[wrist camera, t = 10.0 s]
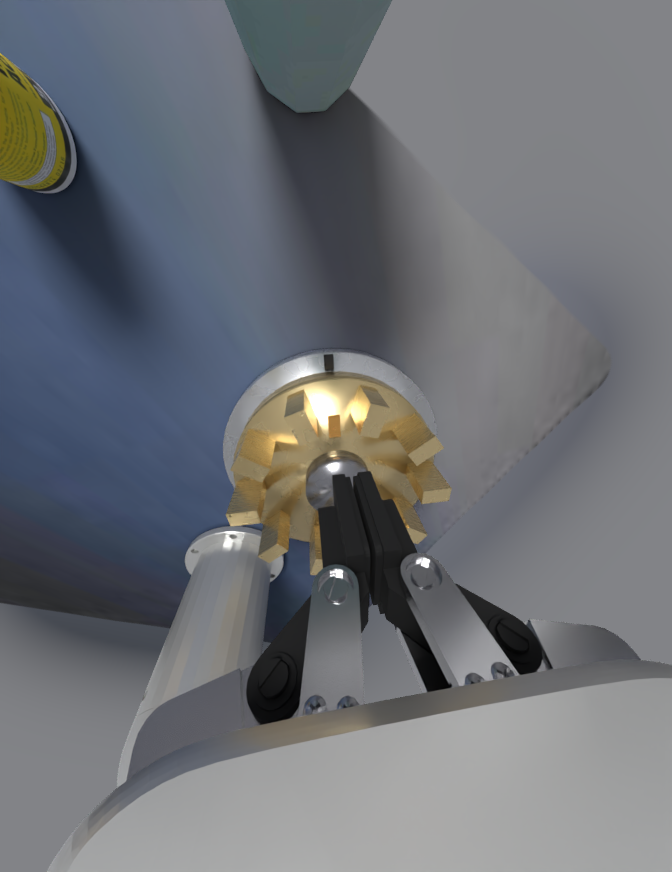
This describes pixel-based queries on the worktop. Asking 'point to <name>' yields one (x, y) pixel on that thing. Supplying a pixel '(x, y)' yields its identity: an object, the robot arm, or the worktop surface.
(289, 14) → the disposable coffee cup
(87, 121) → the worktop surface
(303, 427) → the bladed impeller wheel
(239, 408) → the light grey round disc
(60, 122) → the supplement bottle
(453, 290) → the worktop surface
